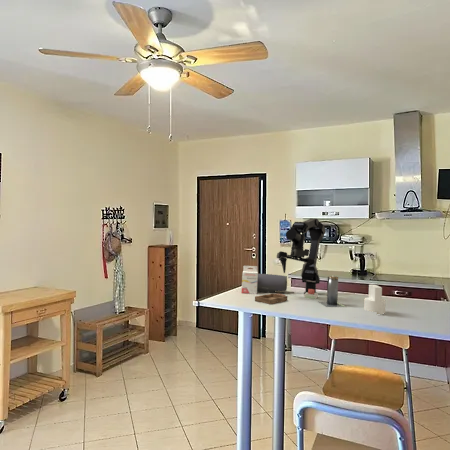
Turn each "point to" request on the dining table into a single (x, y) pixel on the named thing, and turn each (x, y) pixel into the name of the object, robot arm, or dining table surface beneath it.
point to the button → (310, 291)
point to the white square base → (311, 295)
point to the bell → (332, 290)
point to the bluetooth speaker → (271, 283)
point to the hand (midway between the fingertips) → (293, 274)
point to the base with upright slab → (375, 300)
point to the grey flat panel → (332, 305)
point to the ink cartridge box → (249, 279)
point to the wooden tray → (271, 298)
